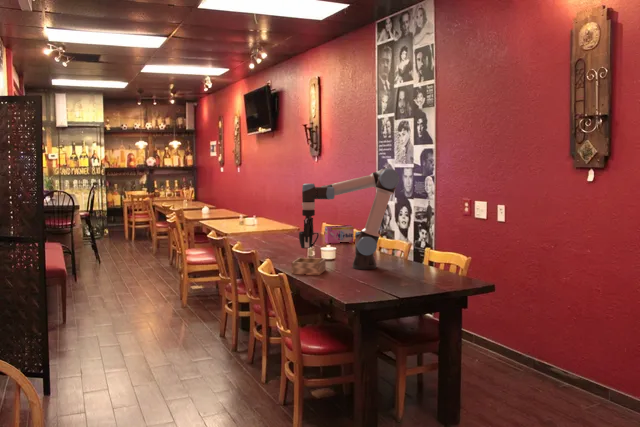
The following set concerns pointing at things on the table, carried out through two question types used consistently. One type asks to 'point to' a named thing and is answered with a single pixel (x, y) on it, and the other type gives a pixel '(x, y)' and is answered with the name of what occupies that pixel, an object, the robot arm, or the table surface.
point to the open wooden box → (308, 266)
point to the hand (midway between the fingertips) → (308, 246)
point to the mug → (302, 239)
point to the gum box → (339, 234)
